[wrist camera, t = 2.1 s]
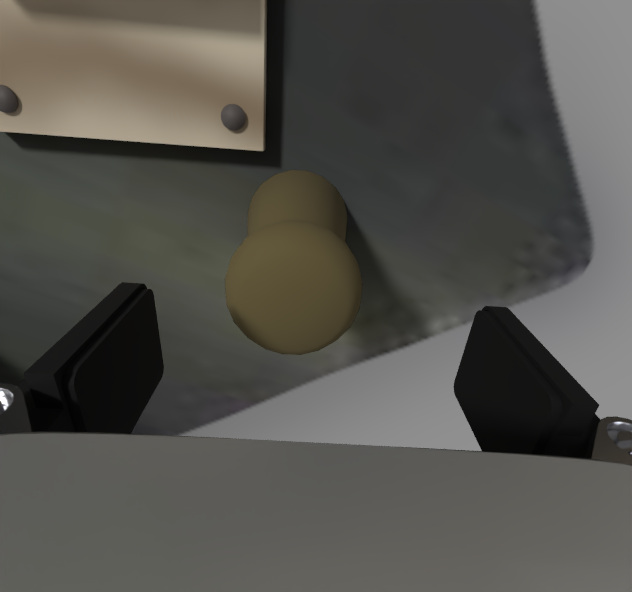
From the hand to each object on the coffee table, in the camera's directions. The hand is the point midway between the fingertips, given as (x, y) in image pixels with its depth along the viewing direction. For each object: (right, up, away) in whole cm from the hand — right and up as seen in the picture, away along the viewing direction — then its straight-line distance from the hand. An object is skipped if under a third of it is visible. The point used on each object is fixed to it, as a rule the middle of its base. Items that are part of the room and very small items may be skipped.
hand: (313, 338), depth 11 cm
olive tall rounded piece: (-1, +6, +12) cm, 13 cm away
